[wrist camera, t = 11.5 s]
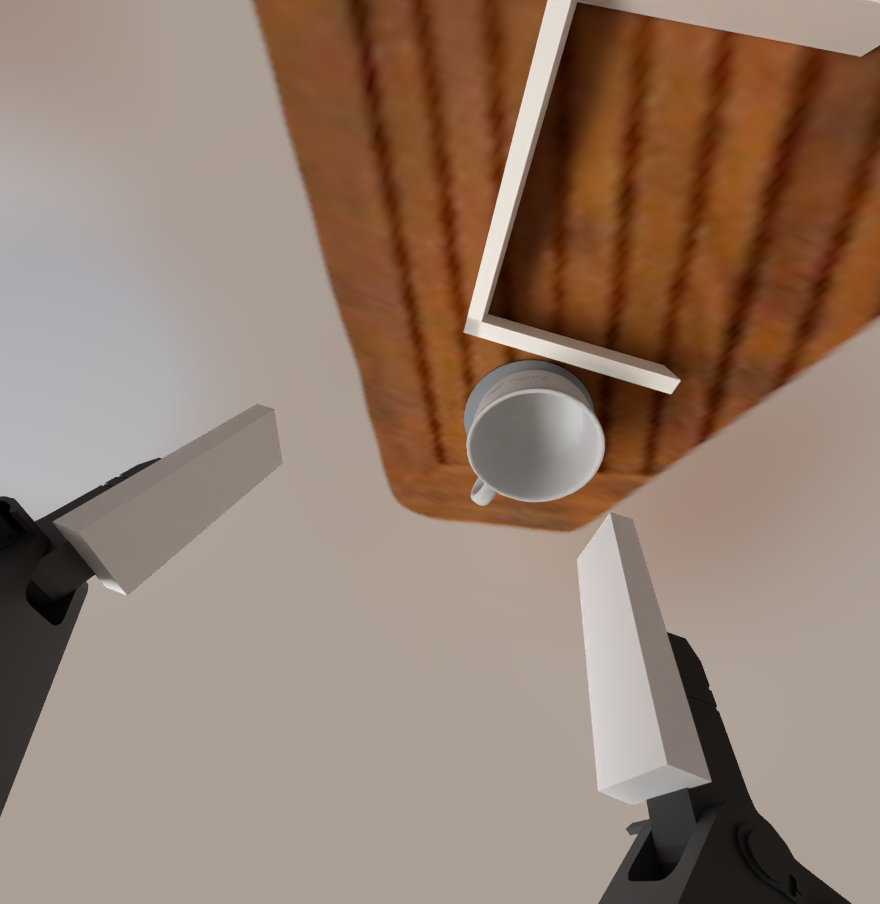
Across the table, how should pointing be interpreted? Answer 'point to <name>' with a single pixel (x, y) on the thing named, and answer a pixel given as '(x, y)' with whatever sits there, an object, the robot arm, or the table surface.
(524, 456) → the teacup
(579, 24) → the table surface
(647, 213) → the table surface
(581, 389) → the grey flat disc
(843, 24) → the white u-shaped frame
